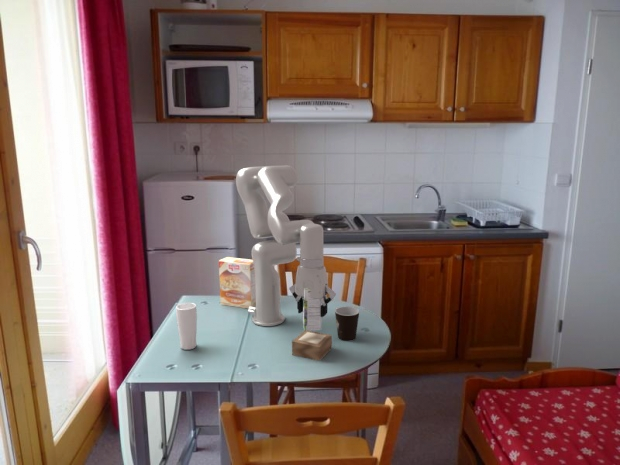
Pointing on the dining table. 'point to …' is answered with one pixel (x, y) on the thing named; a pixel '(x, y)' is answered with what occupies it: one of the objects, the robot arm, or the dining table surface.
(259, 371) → the dining table surface
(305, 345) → the pedestal
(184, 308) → the drinking glass
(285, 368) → the dining table surface
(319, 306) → the syrup box
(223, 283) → the coffeecake box
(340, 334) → the coffee mug
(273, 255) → the robot arm
